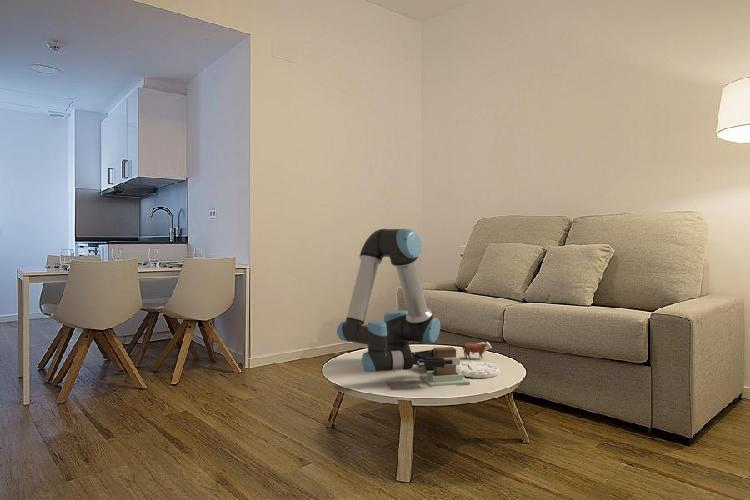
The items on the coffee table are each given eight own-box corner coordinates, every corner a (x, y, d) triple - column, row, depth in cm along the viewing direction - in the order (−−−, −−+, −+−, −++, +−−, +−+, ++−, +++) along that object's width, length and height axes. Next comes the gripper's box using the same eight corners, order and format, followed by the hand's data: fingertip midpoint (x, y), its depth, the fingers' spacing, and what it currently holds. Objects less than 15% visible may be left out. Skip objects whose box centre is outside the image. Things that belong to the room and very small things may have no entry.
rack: (420, 376, 214) (420, 369, 214) (457, 374, 218) (457, 367, 217) (431, 387, 201) (431, 379, 201) (470, 384, 204) (470, 376, 204)
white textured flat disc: (501, 369, 228) (501, 362, 228) (497, 381, 209) (497, 374, 209) (455, 364, 234) (455, 358, 234) (448, 376, 215) (448, 369, 215)
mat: (385, 382, 206) (385, 382, 206) (414, 380, 209) (414, 380, 209) (391, 390, 197) (391, 389, 196) (421, 388, 199) (421, 387, 199)
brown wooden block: (433, 377, 211) (433, 347, 210) (452, 375, 212) (452, 346, 212) (436, 380, 206) (437, 350, 206) (455, 379, 208) (456, 349, 207)
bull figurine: (491, 360, 240) (492, 343, 239) (462, 359, 242) (462, 342, 241) (491, 358, 244) (491, 340, 244) (462, 356, 246) (462, 339, 246)
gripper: (394, 362, 217) (444, 359, 221) (409, 378, 194) (465, 374, 198) (394, 344, 216) (444, 341, 221) (409, 358, 194) (465, 355, 198)
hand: (454, 357), depth 210 cm, fingers open, 10 cm apart
